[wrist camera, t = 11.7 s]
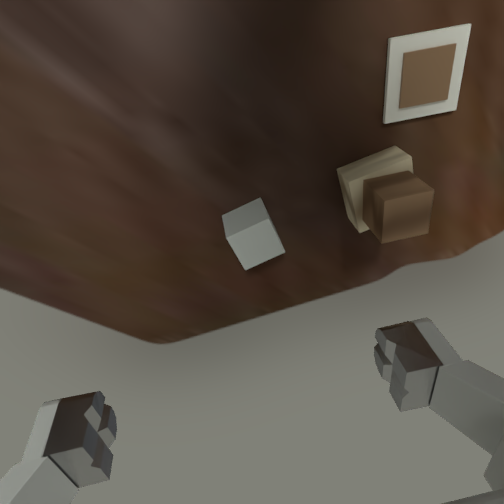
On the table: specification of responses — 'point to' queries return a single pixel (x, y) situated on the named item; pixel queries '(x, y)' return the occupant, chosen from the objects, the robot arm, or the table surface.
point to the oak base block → (366, 169)
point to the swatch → (424, 72)
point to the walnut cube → (397, 206)
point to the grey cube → (252, 234)
